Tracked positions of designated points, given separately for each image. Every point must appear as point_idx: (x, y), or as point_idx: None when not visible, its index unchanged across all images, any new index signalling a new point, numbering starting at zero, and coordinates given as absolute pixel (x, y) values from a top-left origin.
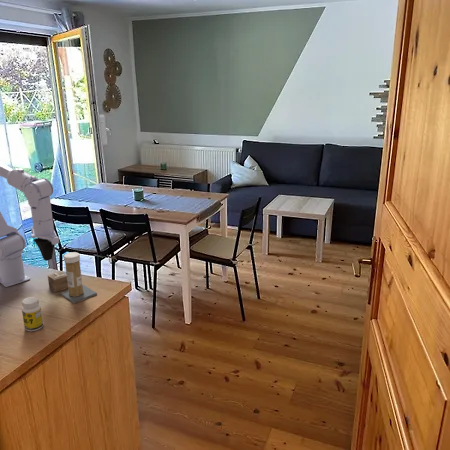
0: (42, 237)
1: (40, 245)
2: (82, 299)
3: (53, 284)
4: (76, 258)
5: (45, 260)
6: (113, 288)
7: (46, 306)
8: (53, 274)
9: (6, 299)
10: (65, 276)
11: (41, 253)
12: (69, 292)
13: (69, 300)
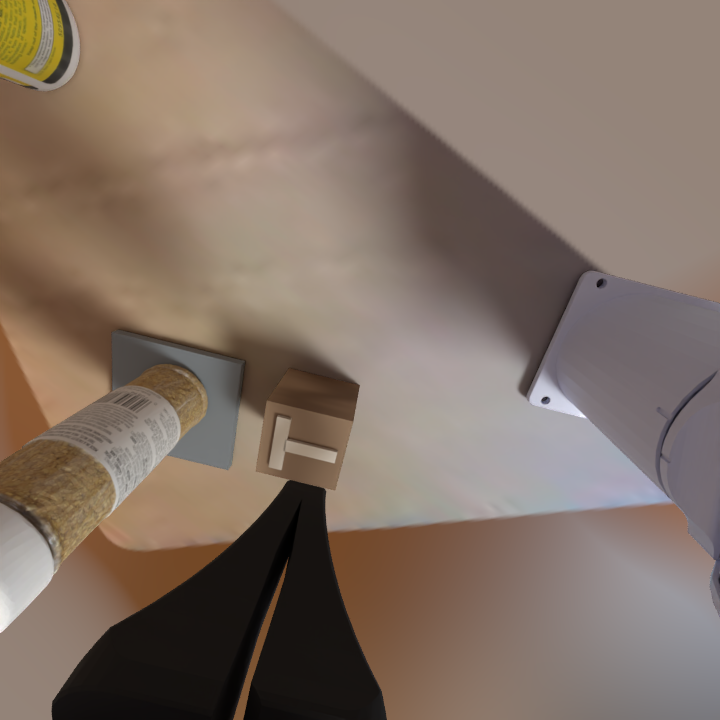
0: None
1: (170, 622)
2: (116, 373)
3: (296, 388)
4: None
5: (293, 481)
6: None
7: (194, 239)
8: (334, 445)
9: (457, 168)
10: (258, 459)
11: (317, 530)
12: (169, 373)
13: (158, 340)
